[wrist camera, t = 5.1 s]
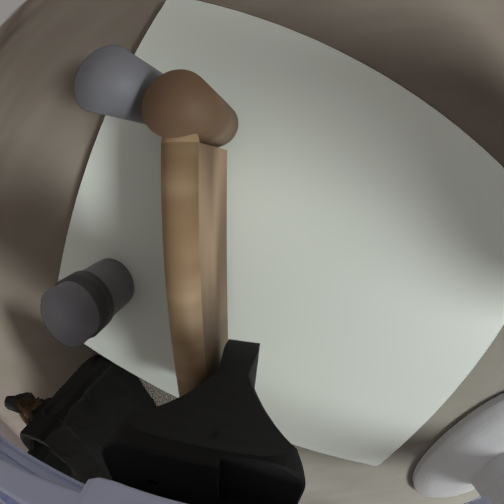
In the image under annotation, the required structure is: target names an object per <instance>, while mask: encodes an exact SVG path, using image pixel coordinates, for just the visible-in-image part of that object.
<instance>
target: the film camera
mask: <svg viewBox="0 0 504 504" xmlns="http://www.w3.org/2000/svg"><path fill="white" fill-rule="evenodd" d="M4 403H5V406H6V408H7V409H9V410H12V411H15V412H18V413H19V415H20V417H21V418H22V420H23V421H24V422H25V423H26V424H27V426H26V427H25V428H24V429H23V430H22V431H21V433H20V438H21V440H22V442H23V443H24V445H25V446H26V447H27V448H28V449H29V451H28V452H27V453H28V454H30V455H31V456H33V457H35V458H36V459H38V460H40V461H42V462H43V463H45V464H47V465H49V466H50V467H52V468H54V469H56V470H58V471H60V472H61V473H63V474H65V475H67V476H69V477H71V478H73V479H75V480H77V481H79V482H82V483H84V484H86V482H87V481H88V479H93V478H104V479H108V480H112V477H111V475H110V473H109V471H108V468H107V466H106V464H105V462H104V459H103V456H102V452H101V450H102V447H103V445H104V443H105V442H106V440H107V438H108V437H109V435H110V434H111V432H112V431H113V429H114V428H115V427H116V425H117V424H118V423H119V422H120V421H121V420H122V419H123V417H124V416H125V415H130V414H134V413H138V412H142V411H145V410H149V409H152V408H155V407H157V406H156V405H155V403H154V400H153V399H152V398H151V397H150V395H149V394H148V392H147V391H146V390H145V388H144V386H143V385H142V383H141V382H140V380H139V378H137V376H136V375H134V374H132V373H130V372H129V371H127V370H125V369H124V368H122V367H120V366H118V365H117V364H115V363H113V362H112V361H110V360H109V359H107V358H105V357H104V356H102V355H101V354H100V355H95V356H92V357H90V358H89V359H88V360H87V361H86V362H84V363H83V364H82V365H81V366H80V367H79V368H78V370H77V371H76V372H75V373H74V374H73V375H72V376H71V377H70V378H69V379H68V380H67V382H66V383H65V384H64V385H63V386H62V387H61V388H60V389H59V390H58V391H57V392H56V393H55V395H54V396H53V397H52V398H47V399H46V400H43V399H39V397H38V398H37V399H36V398H35V397H34V396H33V394H32V393H28V392H27V393H23V394H19V395H16V396H7V397H6V399H5V402H4Z"/></svg>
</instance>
